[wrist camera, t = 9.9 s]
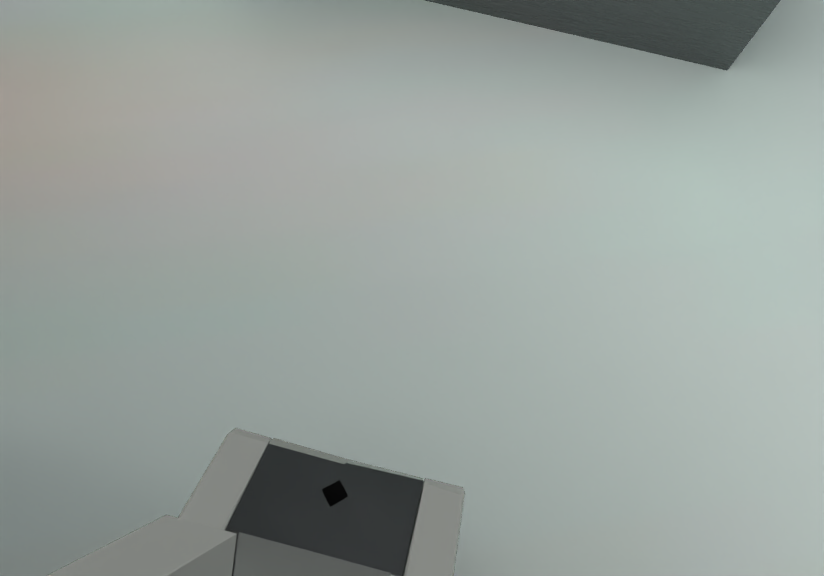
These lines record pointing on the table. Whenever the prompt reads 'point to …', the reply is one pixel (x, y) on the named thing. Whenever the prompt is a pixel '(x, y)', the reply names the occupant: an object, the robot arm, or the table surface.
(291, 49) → the table surface
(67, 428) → the table surface
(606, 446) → the table surface
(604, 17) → the iron bookend
